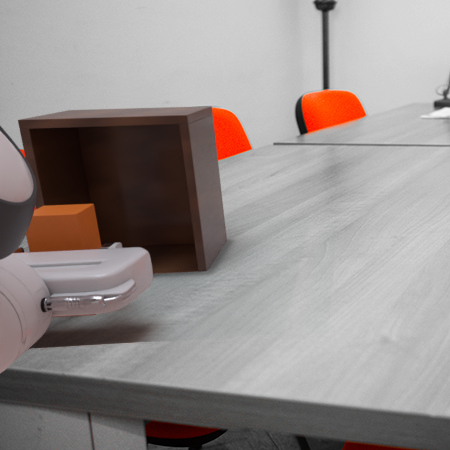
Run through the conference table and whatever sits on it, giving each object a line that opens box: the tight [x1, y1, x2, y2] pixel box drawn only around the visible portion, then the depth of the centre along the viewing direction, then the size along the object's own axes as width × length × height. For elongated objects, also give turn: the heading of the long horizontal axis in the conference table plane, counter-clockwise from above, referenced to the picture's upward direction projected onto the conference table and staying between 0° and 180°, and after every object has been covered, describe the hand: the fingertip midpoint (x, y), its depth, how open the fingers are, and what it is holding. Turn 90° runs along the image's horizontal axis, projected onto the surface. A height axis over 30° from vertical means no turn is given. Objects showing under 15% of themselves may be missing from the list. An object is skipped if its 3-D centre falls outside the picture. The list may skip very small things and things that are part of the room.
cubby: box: [17, 105, 228, 275], centre depth 71 cm, size 18×12×20 cm, turn 95°
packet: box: [25, 204, 101, 318], centre depth 58 cm, size 5×4×12 cm
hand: (66, 252), depth 57 cm, fingers open, 8 cm apart
